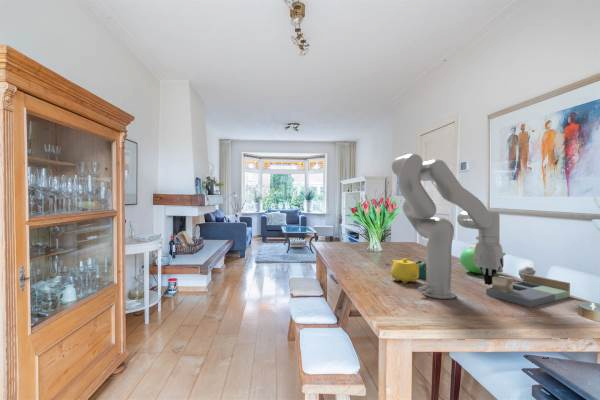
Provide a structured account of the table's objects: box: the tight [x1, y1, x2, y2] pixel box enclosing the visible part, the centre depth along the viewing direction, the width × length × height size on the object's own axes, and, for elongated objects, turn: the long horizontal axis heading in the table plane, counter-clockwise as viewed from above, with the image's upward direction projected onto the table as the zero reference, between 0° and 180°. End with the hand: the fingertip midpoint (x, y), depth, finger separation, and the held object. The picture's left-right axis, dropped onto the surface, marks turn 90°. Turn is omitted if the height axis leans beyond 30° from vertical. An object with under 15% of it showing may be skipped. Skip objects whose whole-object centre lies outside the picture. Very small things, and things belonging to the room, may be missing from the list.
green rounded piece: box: [459, 244, 507, 275], centre depth 162 cm, size 18×17×15 cm
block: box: [491, 275, 514, 293], centre depth 124 cm, size 5×5×5 cm
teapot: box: [390, 258, 421, 285], centre depth 146 cm, size 18×11×11 cm, turn 28°
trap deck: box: [485, 274, 571, 308], centre depth 124 cm, size 28×16×6 cm, turn 116°
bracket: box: [413, 260, 426, 280], centre depth 157 cm, size 18×7×8 cm, turn 113°
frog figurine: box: [518, 266, 536, 281], centre depth 147 cm, size 6×7×7 cm
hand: (488, 284), depth 129 cm, fingers closed
